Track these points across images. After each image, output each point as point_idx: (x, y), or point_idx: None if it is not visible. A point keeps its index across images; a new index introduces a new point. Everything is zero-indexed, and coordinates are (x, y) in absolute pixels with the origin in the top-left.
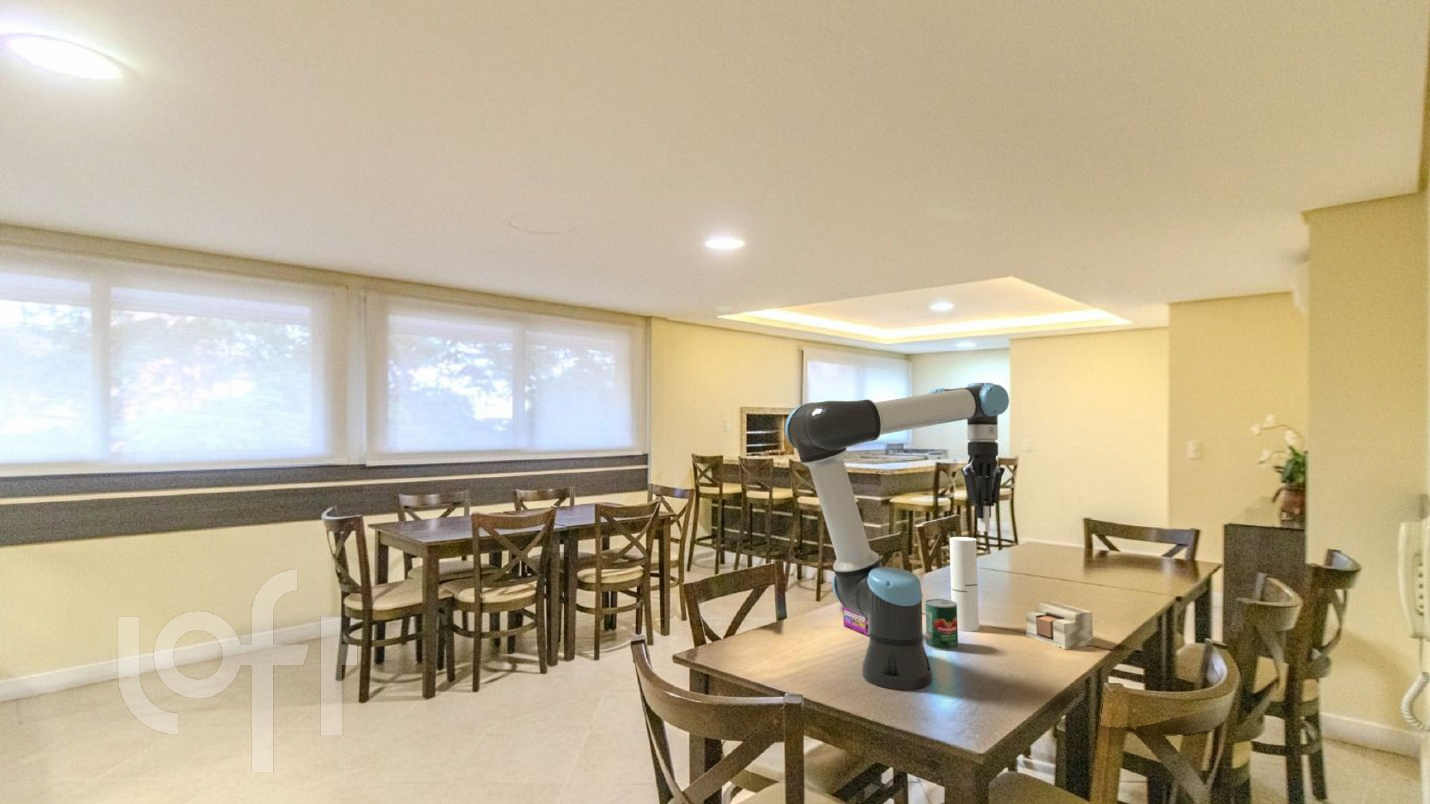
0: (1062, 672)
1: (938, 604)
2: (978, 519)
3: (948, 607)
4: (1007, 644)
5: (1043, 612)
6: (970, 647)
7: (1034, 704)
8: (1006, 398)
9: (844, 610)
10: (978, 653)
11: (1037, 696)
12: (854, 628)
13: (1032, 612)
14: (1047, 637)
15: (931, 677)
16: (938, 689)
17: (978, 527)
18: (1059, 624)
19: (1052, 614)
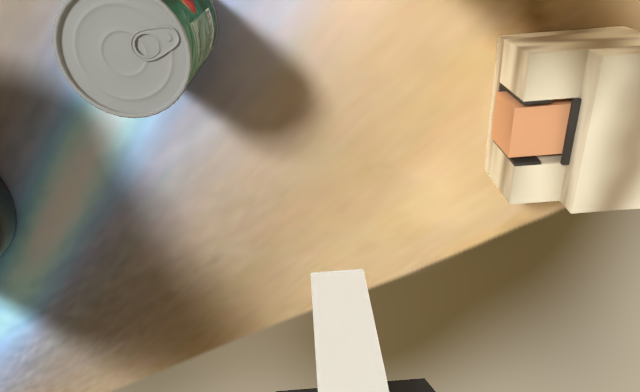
0: None
1: (105, 63)
2: (317, 359)
3: (124, 116)
4: (375, 81)
5: (583, 81)
6: (246, 68)
7: (161, 365)
8: None
9: None
10: (235, 120)
11: (190, 345)
12: None
13: (553, 62)
14: None
15: (1, 254)
16: (9, 277)
17: (313, 298)
18: (509, 186)
19: (571, 125)
